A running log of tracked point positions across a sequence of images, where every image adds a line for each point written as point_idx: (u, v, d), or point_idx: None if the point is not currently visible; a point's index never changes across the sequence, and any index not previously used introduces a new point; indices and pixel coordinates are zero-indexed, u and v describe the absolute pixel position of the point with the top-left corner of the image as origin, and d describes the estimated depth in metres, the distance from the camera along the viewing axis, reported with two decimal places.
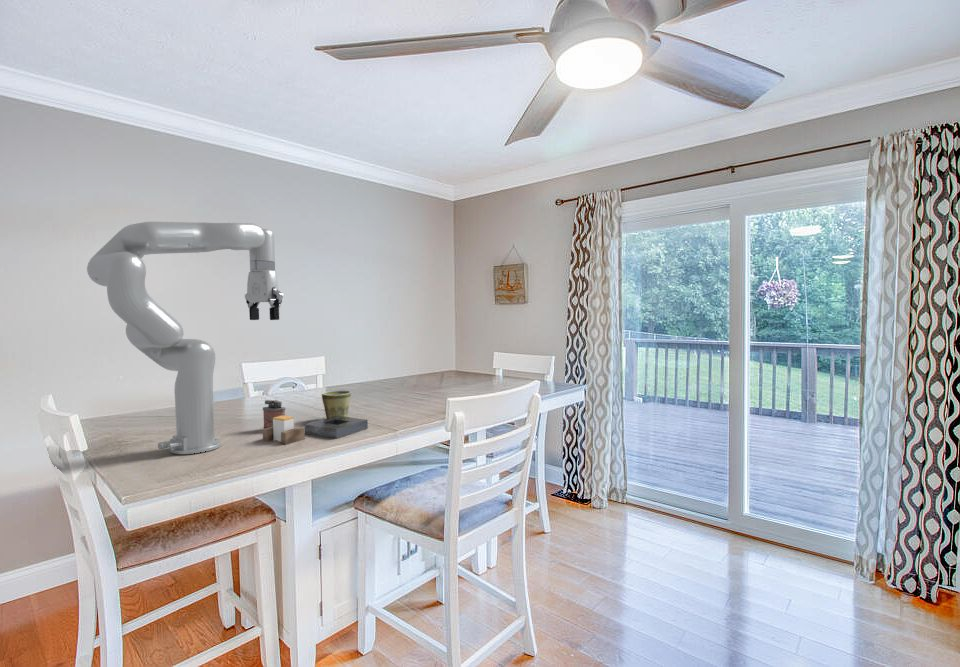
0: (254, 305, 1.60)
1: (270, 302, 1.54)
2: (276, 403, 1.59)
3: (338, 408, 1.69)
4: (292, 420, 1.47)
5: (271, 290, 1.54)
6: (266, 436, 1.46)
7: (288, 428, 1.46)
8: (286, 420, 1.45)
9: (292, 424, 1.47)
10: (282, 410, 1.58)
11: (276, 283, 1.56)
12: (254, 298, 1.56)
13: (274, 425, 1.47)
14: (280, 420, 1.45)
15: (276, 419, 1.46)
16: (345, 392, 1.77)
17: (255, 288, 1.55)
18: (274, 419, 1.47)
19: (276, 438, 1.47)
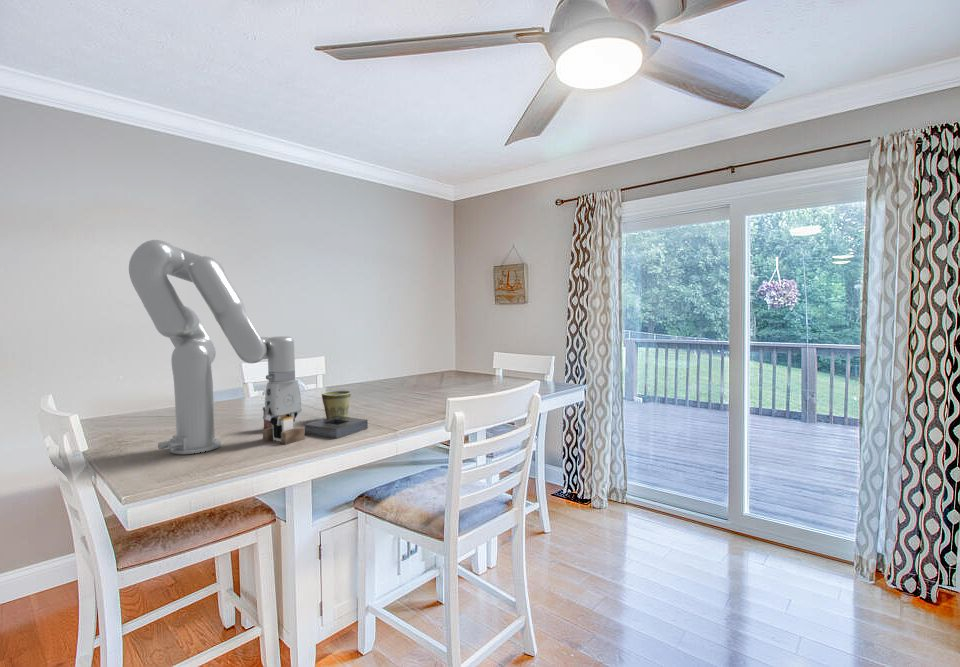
0: None
1: (293, 416, 1.49)
2: None
3: (338, 408, 1.69)
4: (291, 420, 1.47)
5: None
6: (266, 436, 1.46)
7: (287, 428, 1.46)
8: (285, 420, 1.45)
9: (291, 424, 1.47)
10: None
11: None
12: (286, 411, 1.45)
13: None
14: None
15: None
16: (345, 392, 1.77)
17: (288, 400, 1.46)
18: None
19: (275, 438, 1.47)
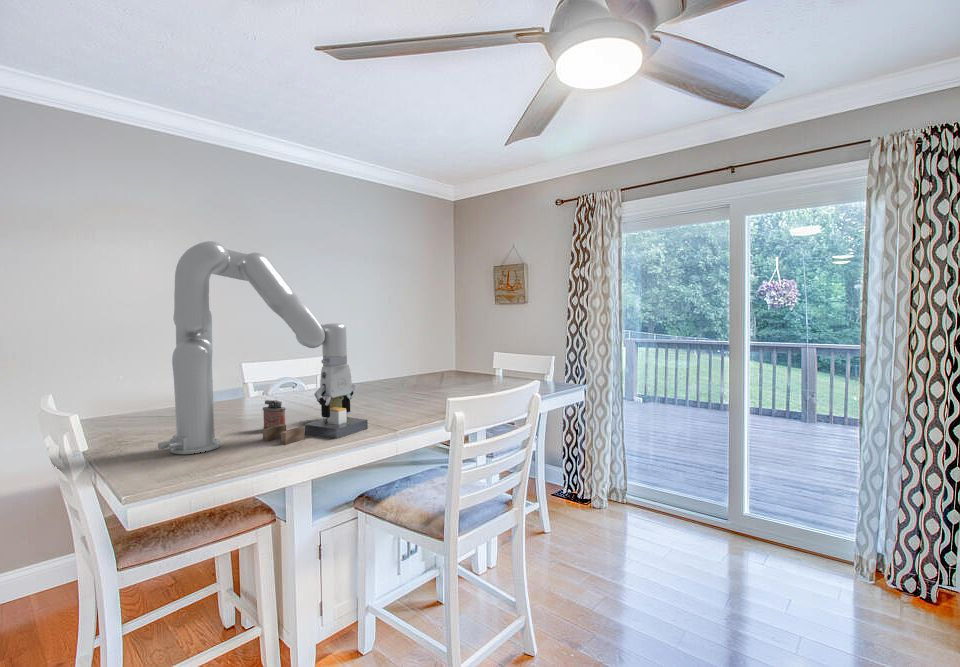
0: None
1: (349, 395, 1.60)
2: (276, 403, 1.59)
3: None
4: (345, 411, 1.57)
5: None
6: (266, 436, 1.46)
7: (342, 418, 1.56)
8: (340, 411, 1.55)
9: (345, 415, 1.57)
10: (282, 410, 1.58)
11: None
12: (340, 393, 1.55)
13: None
14: (334, 411, 1.55)
15: (330, 410, 1.56)
16: None
17: (341, 383, 1.55)
18: None
19: None
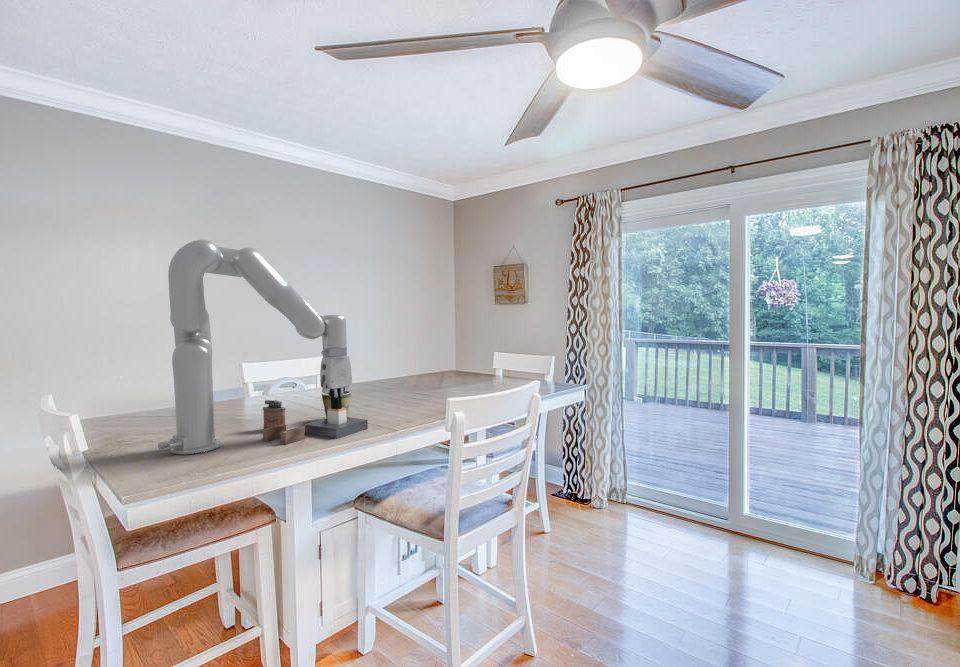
0: None
1: (342, 390, 1.58)
2: (276, 403, 1.59)
3: None
4: (345, 411, 1.57)
5: None
6: (266, 436, 1.46)
7: (342, 418, 1.56)
8: (340, 411, 1.55)
9: (345, 415, 1.57)
10: (282, 410, 1.58)
11: None
12: (340, 384, 1.55)
13: (328, 416, 1.57)
14: (334, 411, 1.55)
15: (330, 410, 1.56)
16: (345, 392, 1.77)
17: (341, 374, 1.55)
18: (328, 410, 1.57)
19: None
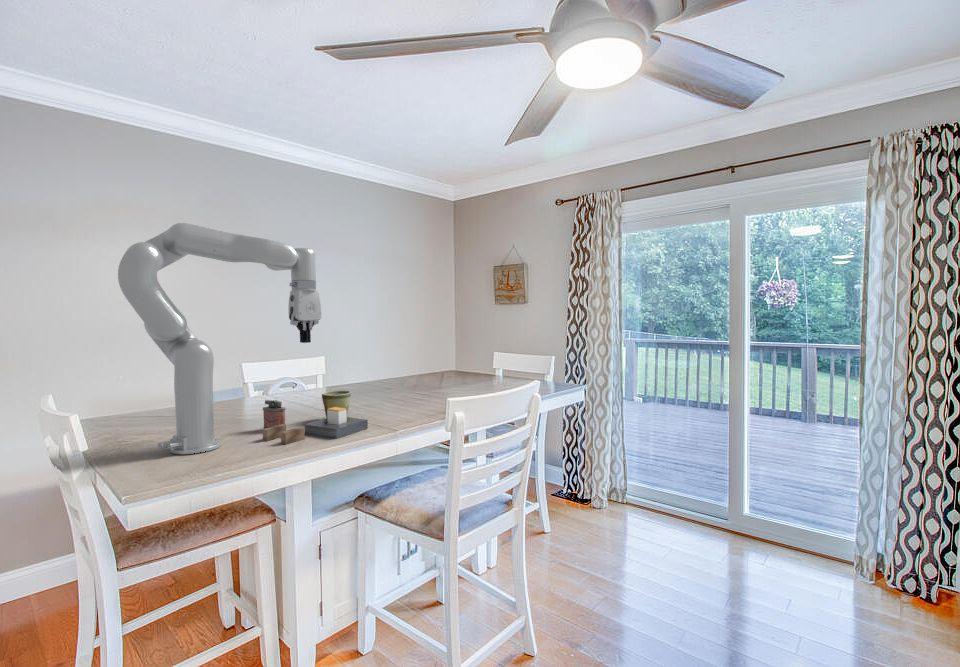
0: None
1: (311, 324, 1.59)
2: (276, 403, 1.59)
3: None
4: (345, 411, 1.57)
5: None
6: (266, 436, 1.46)
7: (342, 418, 1.56)
8: (340, 411, 1.55)
9: (345, 415, 1.57)
10: (282, 410, 1.58)
11: None
12: (308, 317, 1.56)
13: (328, 416, 1.57)
14: (334, 411, 1.55)
15: (330, 410, 1.56)
16: (345, 392, 1.77)
17: (310, 307, 1.56)
18: (328, 410, 1.57)
19: None
